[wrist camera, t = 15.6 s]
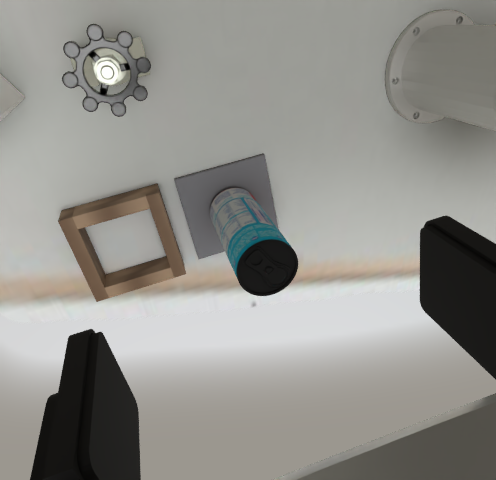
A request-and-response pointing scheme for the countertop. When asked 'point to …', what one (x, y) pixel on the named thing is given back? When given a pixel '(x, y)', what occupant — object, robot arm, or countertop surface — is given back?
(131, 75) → the valve
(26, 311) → the countertop surface
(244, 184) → the charcoal rubber mat
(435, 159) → the countertop surface
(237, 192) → the beverage can
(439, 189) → the countertop surface
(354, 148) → the countertop surface
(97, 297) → the walnut socket block
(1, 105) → the milk
